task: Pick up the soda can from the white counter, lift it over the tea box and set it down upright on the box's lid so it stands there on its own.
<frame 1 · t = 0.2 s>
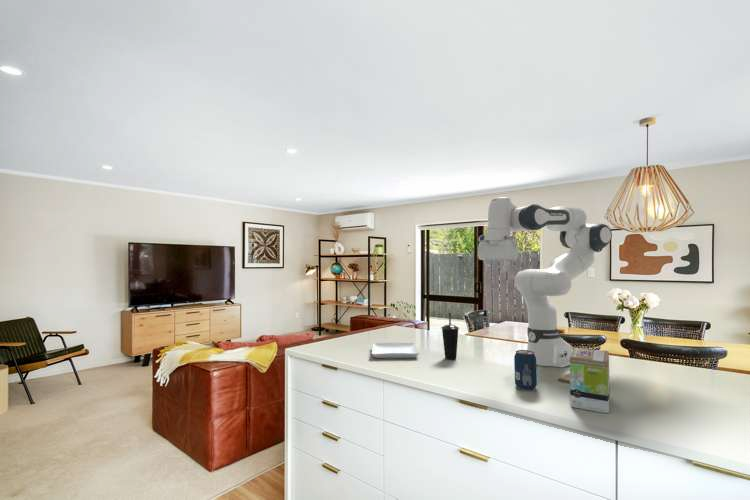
hand: (495, 271, 151), 39 cm above the worktop, tool pointing down, fingers open, 8 cm apart
soda can: (525, 388, 128), on the worktop
walnut coaster: (578, 380, 134), on the worktop
drinking cup: (450, 358, 167), on the worktop
salad plate: (394, 355, 177), on the worktop
tea box: (590, 403, 114), on the worktop
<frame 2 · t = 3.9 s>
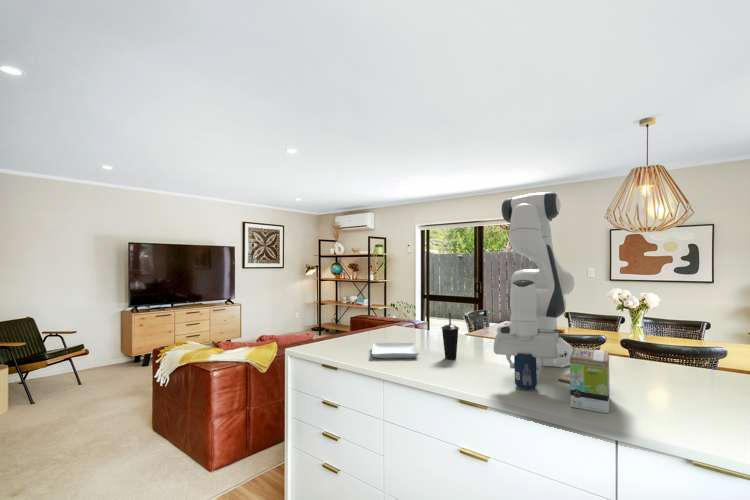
hand: (525, 369, 128), 6 cm above the worktop, tool pointing down, fingers closed on soda can, 7 cm apart
soda can: (525, 388, 128), on the worktop, touching gripper
everything else where it was.
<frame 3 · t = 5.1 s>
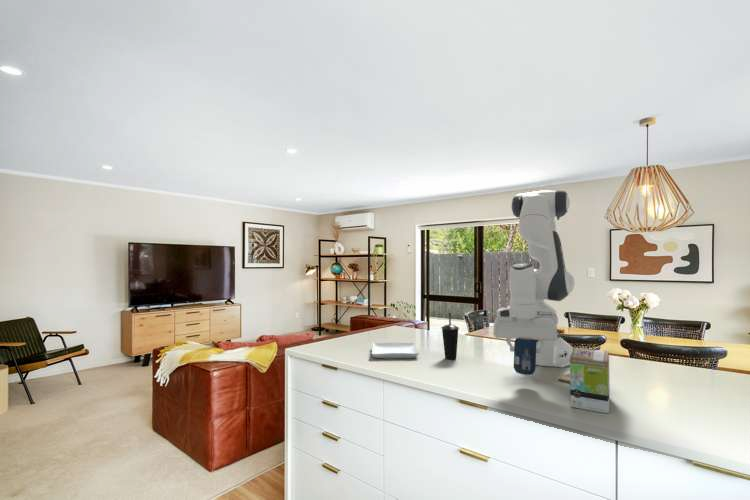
hand: (525, 351, 128), 12 cm above the worktop, tool pointing down, fingers closed on soda can, 7 cm apart
soda can: (524, 373, 129), point 5 cm above the worktop, touching gripper
everything else where it was.
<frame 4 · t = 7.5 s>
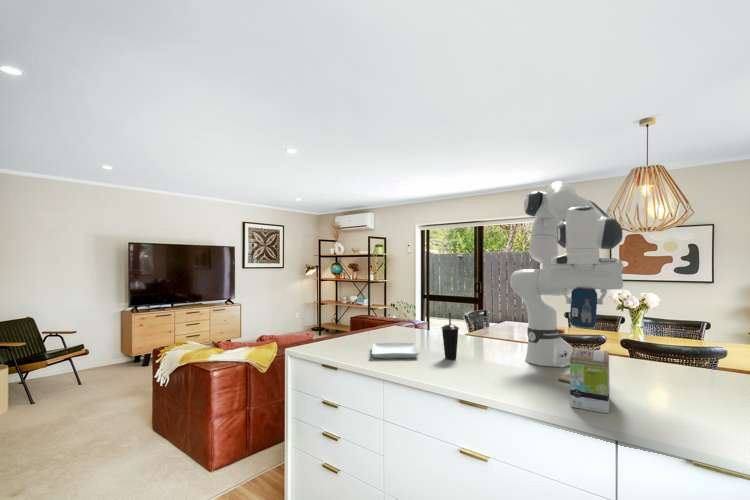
hand: (584, 303, 115), 29 cm above the worktop, tool pointing down, fingers closed on soda can, 7 cm apart
soda can: (582, 327, 115), point 22 cm above the worktop, touching gripper
everything else where it was.
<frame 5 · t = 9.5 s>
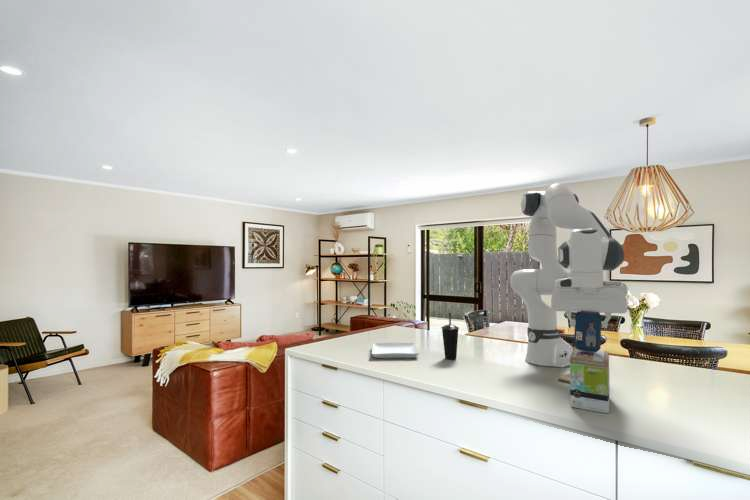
hand: (588, 327, 115), 23 cm above the worktop, tool pointing down, fingers closed on soda can, 7 cm apart
soda can: (586, 350, 114), point 15 cm above the worktop, touching gripper
everything else where it was.
when the fingers open (22 cm above the worktop, at t = 10.2 s): soda can stays where it is, resting on tea box.
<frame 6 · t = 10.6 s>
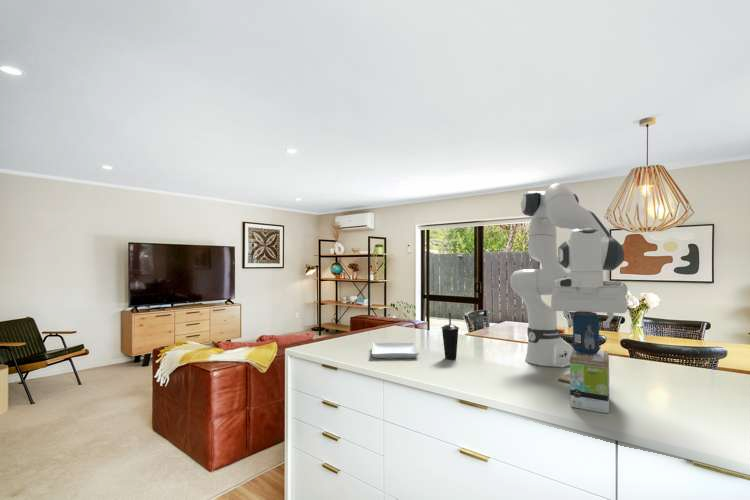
hand: (588, 326, 114), 23 cm above the worktop, tool pointing down, fingers open, 8 cm apart
soda can: (585, 353, 115), point 15 cm above the worktop, touching gripper, tea box
tea box: (590, 403, 114), on the worktop, touching soda can
everything else where it was.
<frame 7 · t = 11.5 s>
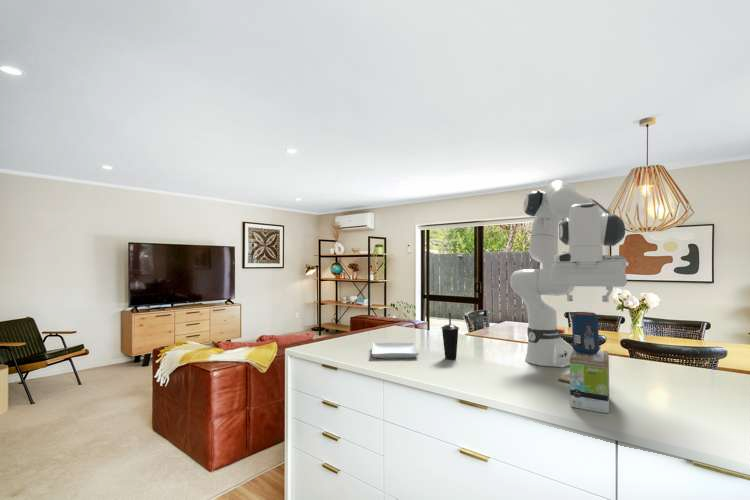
hand: (587, 301, 115), 30 cm above the worktop, tool pointing down, fingers open, 8 cm apart
soda can: (585, 353, 115), point 15 cm above the worktop, touching tea box
everything else where it was.
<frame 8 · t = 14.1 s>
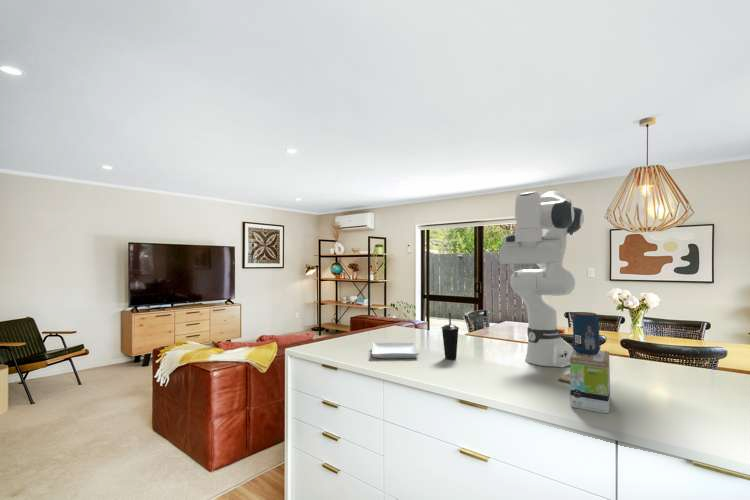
hand: (530, 276, 132), 37 cm above the worktop, tool pointing down, fingers open, 8 cm apart
nothing on the worktop moved.
at the end: soda can inside the target area on the tea box (0.8 cm from its centre), point 14.8 cm above the tea box's base; soda can tilted 0°; the gripper is holding nothing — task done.
